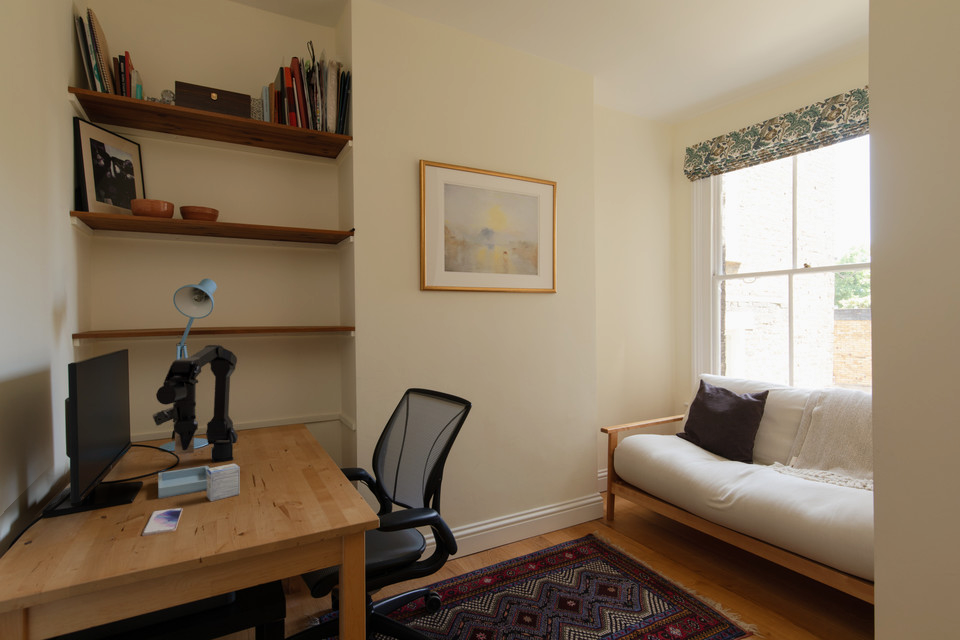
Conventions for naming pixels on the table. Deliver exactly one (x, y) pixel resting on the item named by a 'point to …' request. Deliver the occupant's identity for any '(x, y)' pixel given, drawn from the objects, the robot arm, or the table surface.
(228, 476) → the medicine box
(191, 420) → the robot arm
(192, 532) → the table surface
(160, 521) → the smartphone
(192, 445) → the walnut block
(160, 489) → the tray
